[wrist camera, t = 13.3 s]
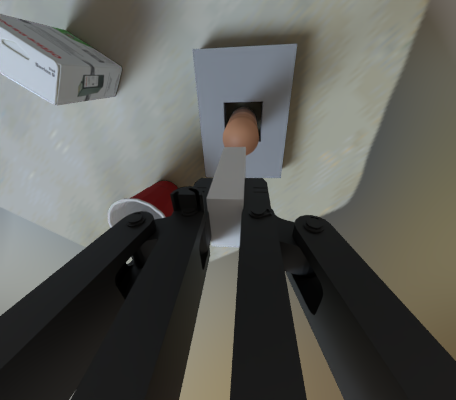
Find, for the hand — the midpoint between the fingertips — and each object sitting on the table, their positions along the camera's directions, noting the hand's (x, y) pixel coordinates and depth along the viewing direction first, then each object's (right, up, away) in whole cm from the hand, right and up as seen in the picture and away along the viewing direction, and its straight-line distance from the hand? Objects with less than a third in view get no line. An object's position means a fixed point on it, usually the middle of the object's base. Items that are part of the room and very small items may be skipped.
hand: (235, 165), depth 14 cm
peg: (+2, +11, +18) cm, 21 cm away
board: (+2, +11, +18) cm, 21 cm away
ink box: (-21, +18, +16) cm, 32 cm away
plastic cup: (-13, -1, +27) cm, 30 cm away
